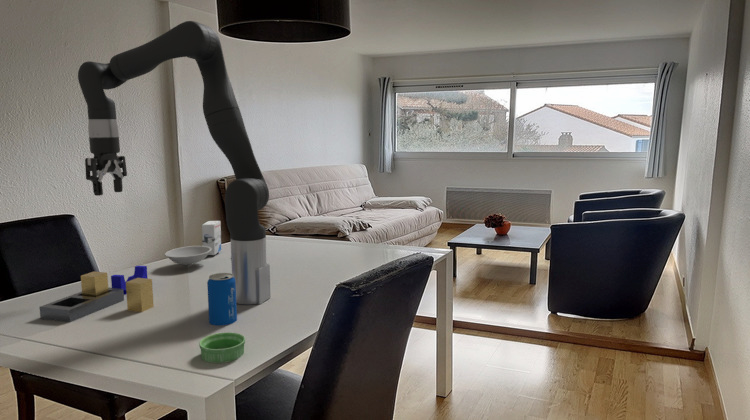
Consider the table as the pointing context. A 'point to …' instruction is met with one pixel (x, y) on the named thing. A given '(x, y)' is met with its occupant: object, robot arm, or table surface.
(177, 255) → the dish
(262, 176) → the robot arm
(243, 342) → the ramekin
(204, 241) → the ink box
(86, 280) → the beige cube
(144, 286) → the wooden toy block
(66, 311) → the grey flat open box
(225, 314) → the beverage can
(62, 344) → the table surface
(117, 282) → the cable clip
